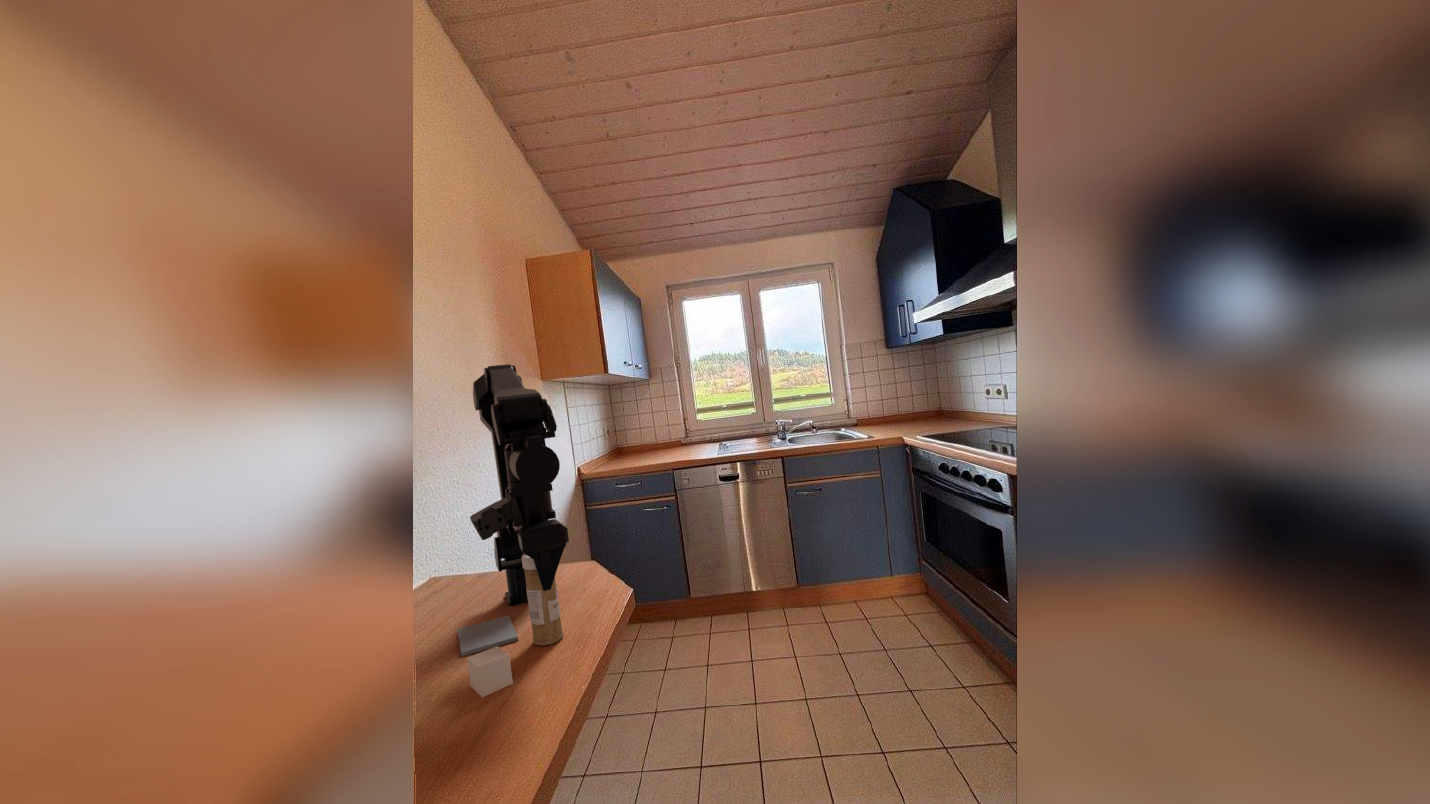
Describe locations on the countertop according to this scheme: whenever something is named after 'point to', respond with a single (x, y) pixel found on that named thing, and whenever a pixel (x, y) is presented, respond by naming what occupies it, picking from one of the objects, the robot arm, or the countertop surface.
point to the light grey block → (490, 671)
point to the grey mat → (486, 635)
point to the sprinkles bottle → (542, 607)
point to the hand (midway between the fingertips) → (541, 581)
